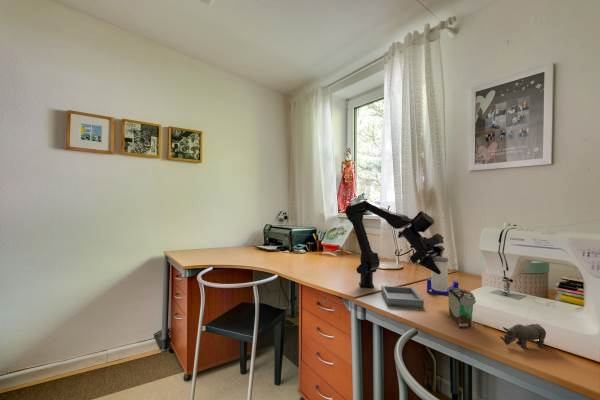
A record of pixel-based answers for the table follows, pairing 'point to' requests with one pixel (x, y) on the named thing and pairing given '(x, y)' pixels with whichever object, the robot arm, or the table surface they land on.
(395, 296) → the charcoal tray
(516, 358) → the table surface
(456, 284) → the cable clip
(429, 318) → the table surface
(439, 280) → the grey round glossy part
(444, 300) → the table surface
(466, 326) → the food container
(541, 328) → the rhino figurine
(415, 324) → the table surface
